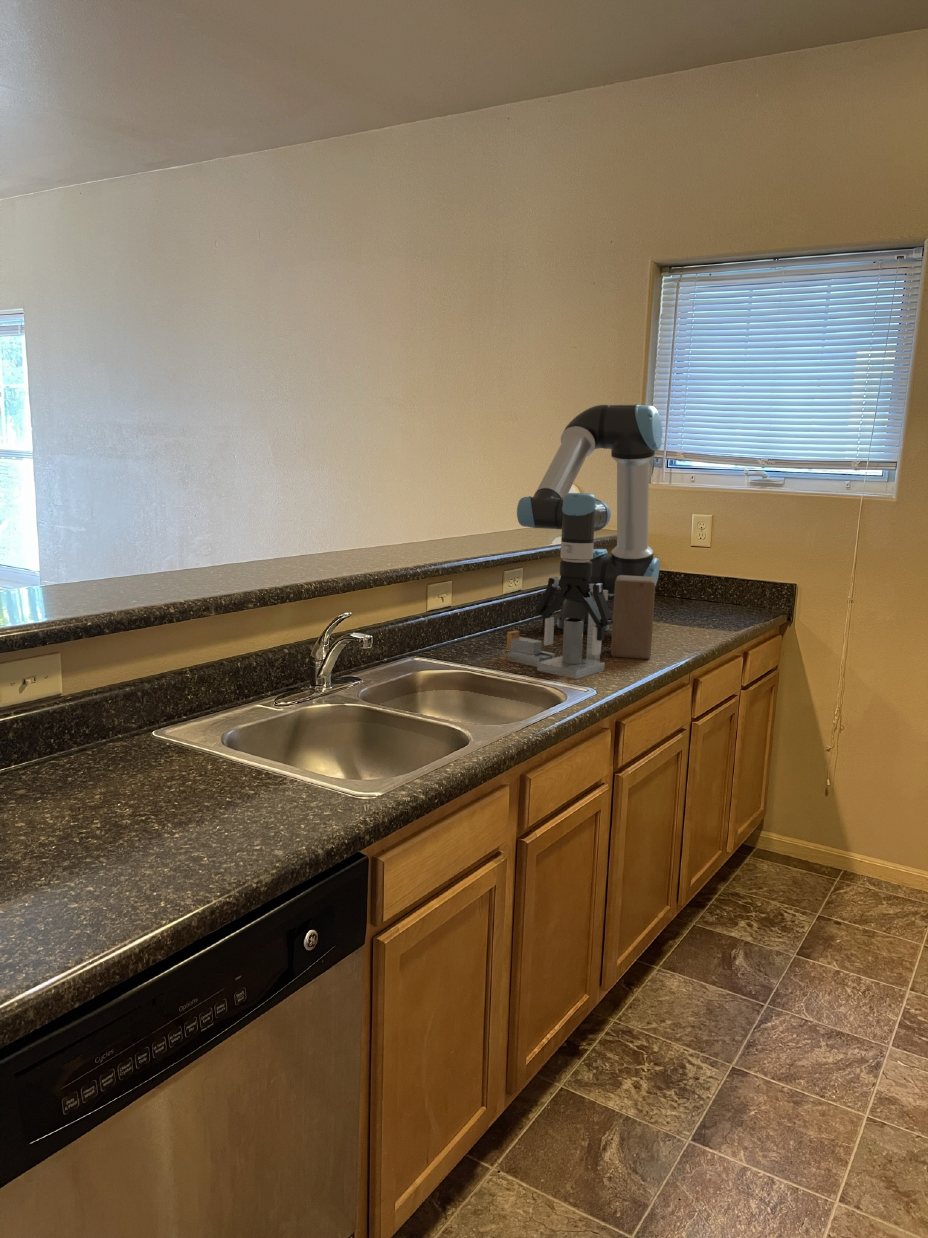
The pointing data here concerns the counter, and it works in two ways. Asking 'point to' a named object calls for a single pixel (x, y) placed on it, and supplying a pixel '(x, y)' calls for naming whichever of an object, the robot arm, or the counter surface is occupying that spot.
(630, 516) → the robot arm
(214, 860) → the counter surface
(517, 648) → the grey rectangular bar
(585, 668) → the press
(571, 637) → the grey hollow tube
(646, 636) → the wooden block
